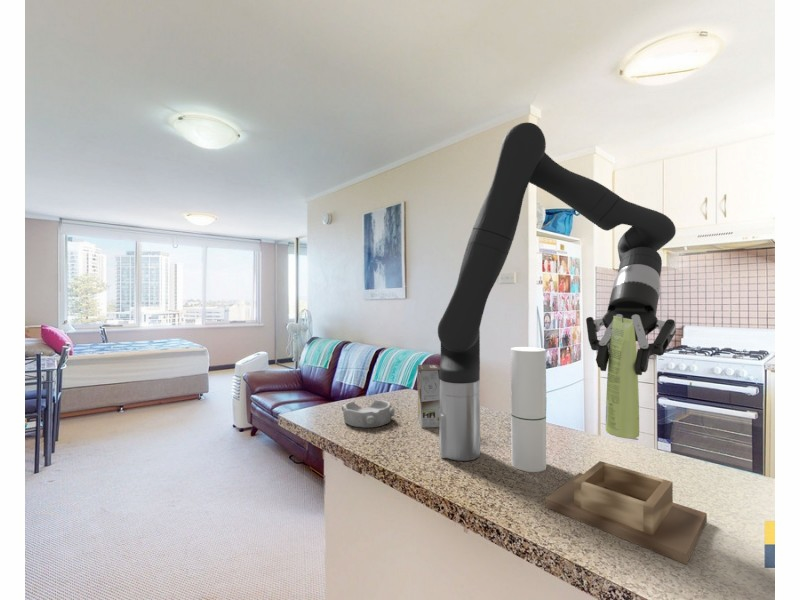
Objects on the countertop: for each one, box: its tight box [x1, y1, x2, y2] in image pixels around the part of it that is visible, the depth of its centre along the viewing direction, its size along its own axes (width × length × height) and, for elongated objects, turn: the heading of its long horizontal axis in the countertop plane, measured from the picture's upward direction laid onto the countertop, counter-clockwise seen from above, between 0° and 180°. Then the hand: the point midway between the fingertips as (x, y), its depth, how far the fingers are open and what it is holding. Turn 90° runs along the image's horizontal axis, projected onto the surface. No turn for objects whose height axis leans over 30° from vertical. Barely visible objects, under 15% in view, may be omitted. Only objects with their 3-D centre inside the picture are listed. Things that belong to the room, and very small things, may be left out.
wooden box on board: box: [545, 460, 708, 565], centre depth 65 cm, size 20×14×6 cm
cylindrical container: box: [510, 346, 547, 473], centre depth 84 cm, size 7×7×25 cm
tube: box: [605, 316, 640, 440], centre depth 65 cm, size 6×5×20 cm
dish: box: [341, 399, 395, 428], centre depth 115 cm, size 14×14×5 cm
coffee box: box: [416, 363, 440, 429], centre depth 113 cm, size 9×6×16 cm
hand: (619, 369), depth 64 cm, fingers closed on tube, 4 cm apart
